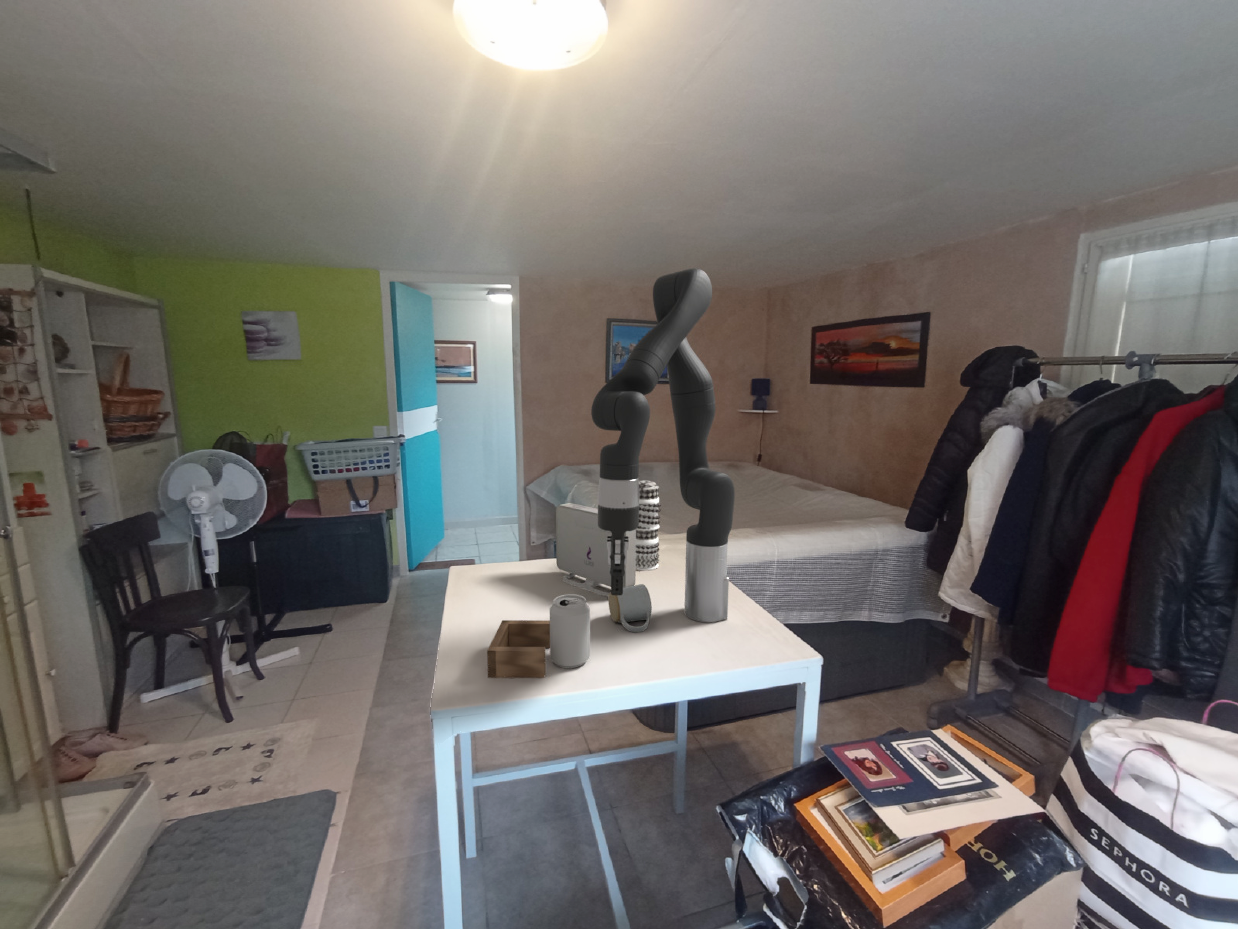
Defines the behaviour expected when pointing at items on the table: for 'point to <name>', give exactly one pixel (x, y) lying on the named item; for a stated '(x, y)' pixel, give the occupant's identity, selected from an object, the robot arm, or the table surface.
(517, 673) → the dock
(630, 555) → the network device
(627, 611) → the ceramic mug
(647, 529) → the decorative candle
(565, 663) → the can
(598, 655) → the table surface
